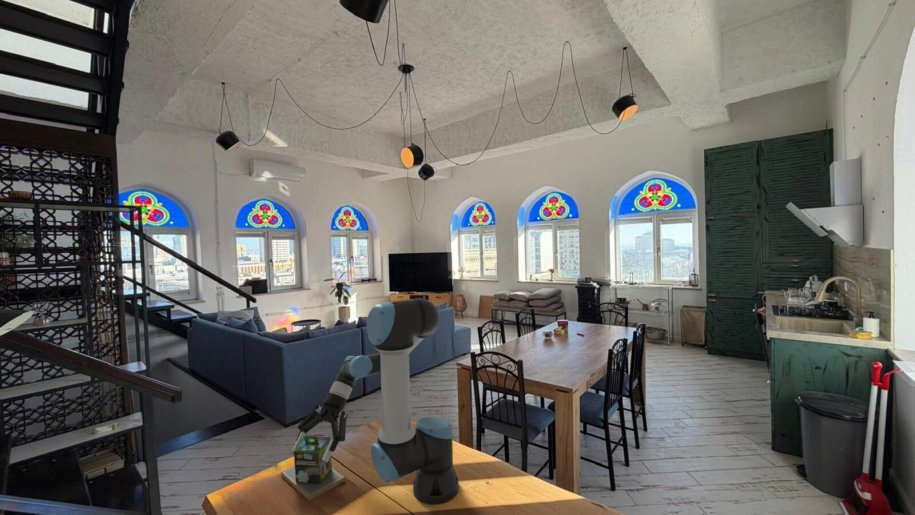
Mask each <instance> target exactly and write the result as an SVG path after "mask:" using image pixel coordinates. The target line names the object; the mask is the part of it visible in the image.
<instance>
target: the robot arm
mask: <svg viewBox="0 0 915 515" xmlns="http://www.w3.org/2000/svg"><path fill="white" fill-rule="evenodd" d="M440 315H441V314H440V312H439V309H438V308H437V307H436V305H435V304H434V303H433V302H432V301H430V300H428V299H426V298H421V297H417V298H412V299H411V298H410V299H403V300H394V301H386V302H382V303H378V304H375V305H373V307H371V309H370V311H368V315H367V318H366V333H367V338H368V340H369V342H370V344H372V345H374V349H375V350H376V351H378V352H377V353H372V354H368V355H363V354H362V355H358V356H354V355H348V356H346V358H345V359H344V361H343V362H342V365H341V367H340V370H339V372H338V373H337V375H336V378H335V379H334V381H333V383H332V385H331V387H330V389H329V393H327V395H326V397H325V399H324V404H323V406H322V407H321V406H320V405H318V404H317V405H315V406H314V408H313V409H312V410H311V412H309V414H308V415H306V417H305V418H304V419H303V420H302V421H301V422H300V423H299V424H298V425H297V429H298V430H299V433H298V436H296V439H295V440H296V442H295V443H294V445H293V447H292V450H291V452H294V450H295V449H296V448H297V447H298V446H299V444H300V443H301V442H303V440H304V436H308V432H309V431H311V430H312V429H313V428H315V427H317V425H319V424H320V423H323V422H326V423H328V424H330V427H331V432H332V433H331V434H332V439H330V443H329V445H328V447H327V449H326V451H325V454H324V456H323V458H322V460H324V461H325V462H328V461H329V459H330V456H331V457H332V454H333V453H334V452H335V451H336V449H337V448H338V447H337V446H339V443H340V442H345V441H346V433H347V432H346V431H347V430H346V429H347V428H346V426H347V418H348V417H349V414H348V413H347V412H345V411H346V410H345V411H344V409H345V406H346V404H347V400H349V398H350V395H351V393H352V390H353V389H354V386H355V385H356V383H357V380H359V379H362V378H367V377H369V376H373V375H377V374H380V388H381V389H380V391H381V392H380V393H381V420H382V421H381V423H382V424H381V425H382V427H381V428H380V429H379V431H378V433H377V441H376V442H374V443H372V445H371V446H370V455H371V460H372V463H373V466H374V469H375V471H376V473H377V474H378V477H379V478H380V479H381V480H382V481H383V482H385V483H391V482H393V481H395V480H400V479H401V478H403V477H405V476H408V475H410V474H412V473H414V472H416V473H415V477H414V479H413V481H412V491H413V496H414V497H415V498H416V499H417V500H418V501H420V502H422V503H425V504H428V505H441V504H444V503H448V502H449V501H451V500H452V499H454V498H455V497H456V495H457V494H458V493H459V486H460V485H459V478H458V475H457V473H456V471H455V466H454V463H453V462H454V460H453V458H454V457H453V456H454V450H453V447H454V445H453V438H454V434H453V428H452V425H451V422H449V421H448V420H446V419H445V418H443V417H439V416H423V417H421V418H420V419H418V420H417V421H416V424H415V426H416V428H415V427H414V426H413V425H412V424H411V421H412V420H411V392H410V390H411V387H410V383H411V381H410V354H411V353H412V351H413V350H414V349H415V348H416V347H417V346H418V345H419V344H420V343H421V342H422V341H423V340H425V339H428V338H430V337H431V336H433V334H434V333H435V332H436V331H437V329H438V328H439V325H440V321H441V318H440ZM338 418H339V421H338Z"/></svg>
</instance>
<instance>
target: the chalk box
mask: <svg viewBox="0 0 915 515" xmlns="http://www.w3.org/2000/svg"><path fill="white" fill-rule="evenodd" d="M330 440H331V437H327V436H326V437H325V436H324V437H323V436H322V437H321V436H316V435H307V436H304V440H303V442H301V443H300V444H299V446H298V447H297V448H296V449H295V450H294V451H293V461H294V466H295V476H296V482H302V483H317V484H320V483H321V482H322V480H323V479H324V478H325V476H326V475H327V474H328V472H329V471H330V469H331V468H333V466H332V455H331V456H330V459H329V461H328V462H325V461H324V460H322V458H323V456H324V454H325V451H326V449H327V447H328V445H329V443H330Z"/></svg>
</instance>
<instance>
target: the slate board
mask: <svg viewBox="0 0 915 515" xmlns="http://www.w3.org/2000/svg"><path fill="white" fill-rule="evenodd" d="M280 474H281V477H282V478H283V479H285V480H286V481H287V483H289V484H290V485H291V486H292V487H293V488H294V489H295V490H296V491H298V492H299V494H301V495H302V496H303V497H304V498H305V499H306V498H307V499H306V500H308V502H310V501H312V500H315V498H318V497H319V496H321V495H323V494H324V493H326V492H328V491H330V490H331V489H333V488H335V487H336V486H339V485H341V484H342V483H344V482H345V481H346V480H345V479H346V478H345V476H344V475H343V474H341V473H340V472H339V471H337V470H336V469H334V468H333V467H332V468H331V469H330V471H329V472H328V474H327V475H326V476H325V478H324V479H323V480H322V482H321V483H320V484H317V483H302V482H296V476H295V465H293V466H291V467H288V468H287V469H284V470H282V471H281V472H280Z"/></svg>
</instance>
